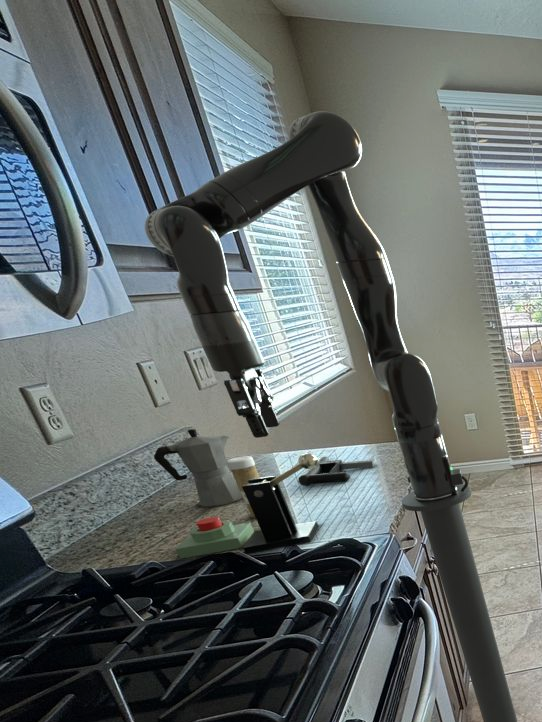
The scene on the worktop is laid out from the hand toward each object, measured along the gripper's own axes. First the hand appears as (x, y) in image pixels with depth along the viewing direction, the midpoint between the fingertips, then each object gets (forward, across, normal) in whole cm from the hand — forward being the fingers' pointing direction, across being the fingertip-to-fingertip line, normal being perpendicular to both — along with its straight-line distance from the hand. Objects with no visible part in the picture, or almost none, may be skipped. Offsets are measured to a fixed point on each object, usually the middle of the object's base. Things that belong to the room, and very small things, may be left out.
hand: (268, 431), depth 105 cm
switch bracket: (+23, +4, +6) cm, 24 cm away
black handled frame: (+24, +50, +2) cm, 55 cm away
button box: (+22, +8, +18) cm, 30 cm away
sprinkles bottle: (+23, +24, +14) cm, 36 cm away
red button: (+19, +8, +18) cm, 27 cm away
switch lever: (+11, +4, +1) cm, 12 cm away
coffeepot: (+23, +41, +27) cm, 54 cm away
